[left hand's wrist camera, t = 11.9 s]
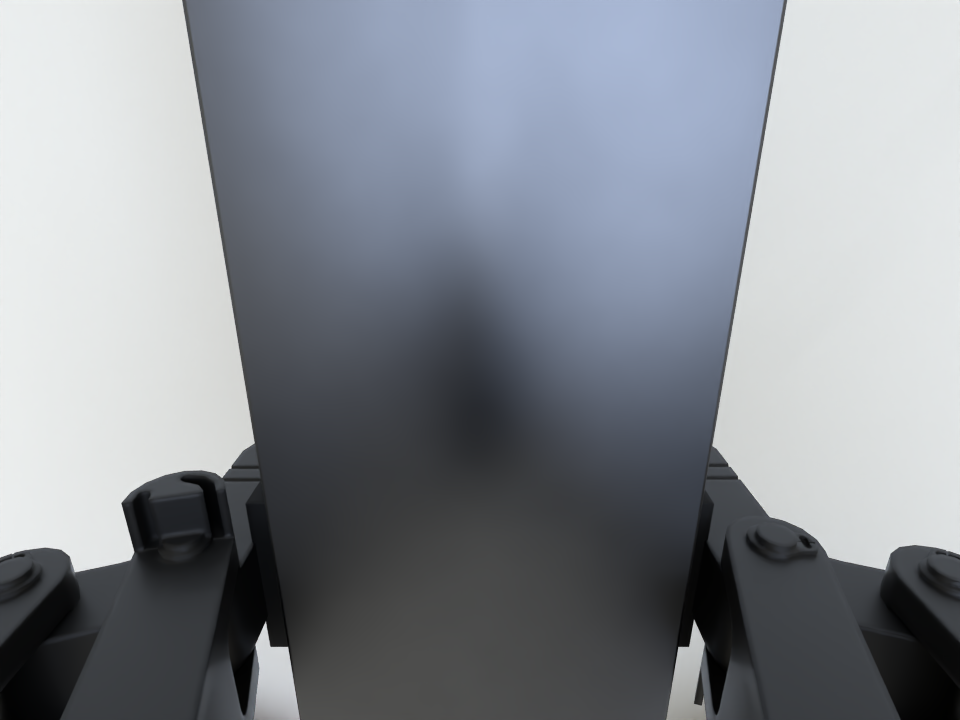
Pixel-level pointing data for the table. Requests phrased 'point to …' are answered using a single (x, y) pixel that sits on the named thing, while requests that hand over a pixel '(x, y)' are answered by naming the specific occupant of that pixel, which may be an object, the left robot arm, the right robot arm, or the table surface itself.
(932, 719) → the left robot arm
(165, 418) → the table surface
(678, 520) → the bar
